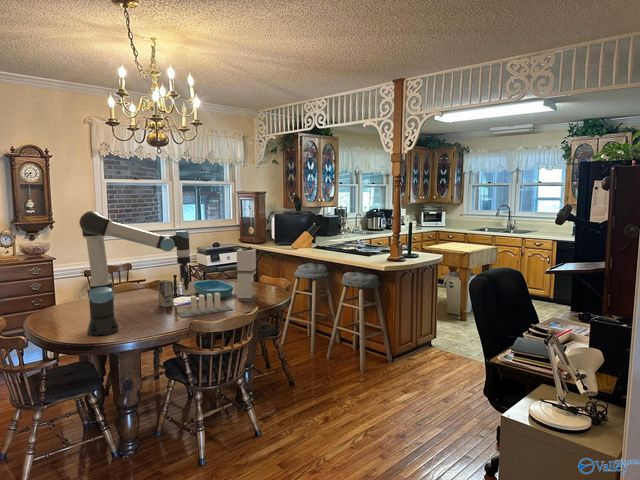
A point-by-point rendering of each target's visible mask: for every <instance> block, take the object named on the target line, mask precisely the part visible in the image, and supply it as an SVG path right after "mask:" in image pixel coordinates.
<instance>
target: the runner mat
mask: <svg viewBox="0 0 640 480" xmlns="http://www.w3.org/2000/svg"><path fill="white" fill-rule="evenodd" d="M233 310H234V309H233V308H232V307H231V306H229V305H227V304H224V305H222V304H221V309H220V310H217V309H215V306H213V311H209V310H208V309H207V307H205V312H201V311H199V308H197V313H194V314H193V313H192V312H191V309H189V310H182V311H177V312H176V313H177V315H178V316H179V317H180V319H183V318H190V317H197V316H203V315H209V314H215V313H216V314H217V313H222V312H229V311H233Z"/></svg>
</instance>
